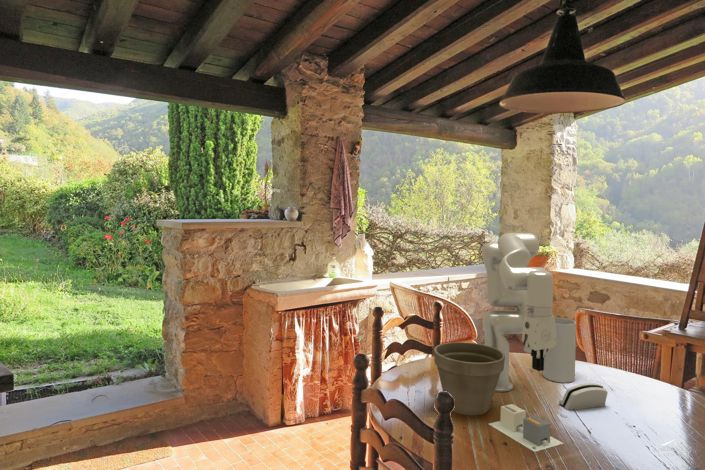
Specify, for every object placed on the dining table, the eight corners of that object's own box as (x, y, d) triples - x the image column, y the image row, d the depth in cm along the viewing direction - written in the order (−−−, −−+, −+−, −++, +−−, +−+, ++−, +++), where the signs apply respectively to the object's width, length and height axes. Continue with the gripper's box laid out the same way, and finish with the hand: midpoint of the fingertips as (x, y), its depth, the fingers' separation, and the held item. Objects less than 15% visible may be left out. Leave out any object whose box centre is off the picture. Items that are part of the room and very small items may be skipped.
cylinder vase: (537, 377, 202) (538, 320, 201) (551, 371, 210) (552, 316, 209) (566, 385, 193) (567, 326, 191) (579, 378, 201) (581, 321, 199)
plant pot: (516, 409, 170) (517, 350, 169) (482, 432, 152) (482, 367, 151) (456, 390, 187) (457, 337, 186) (419, 409, 170) (420, 350, 169)
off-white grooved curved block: (595, 400, 178) (602, 378, 174) (604, 408, 174) (611, 387, 170) (557, 404, 174) (564, 382, 171) (565, 413, 170) (572, 391, 166)
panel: (488, 427, 156) (488, 420, 156) (515, 420, 161) (515, 413, 161) (534, 455, 138) (534, 447, 138) (563, 447, 143) (563, 439, 143)
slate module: (523, 437, 146) (523, 417, 146) (534, 434, 148) (535, 414, 148) (537, 446, 141) (538, 425, 141) (550, 442, 143) (550, 422, 143)
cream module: (500, 424, 155) (500, 405, 155) (511, 421, 158) (512, 403, 157) (513, 431, 150) (513, 412, 150) (525, 428, 152) (525, 410, 152)
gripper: (530, 316, 137) (528, 377, 138) (566, 311, 143) (565, 369, 144) (511, 310, 144) (510, 369, 145) (547, 306, 150) (546, 362, 151)
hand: (537, 369), depth 145 cm, fingers closed
